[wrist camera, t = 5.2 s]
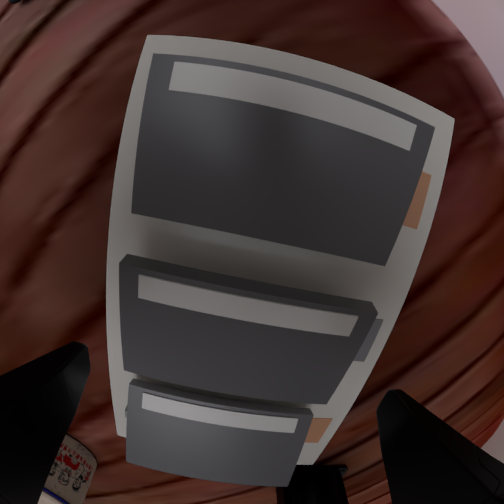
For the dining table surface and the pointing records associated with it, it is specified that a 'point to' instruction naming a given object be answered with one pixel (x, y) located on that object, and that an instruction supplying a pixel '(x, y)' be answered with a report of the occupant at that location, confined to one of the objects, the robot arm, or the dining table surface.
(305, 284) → the switch panel
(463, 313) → the dining table surface
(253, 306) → the panel
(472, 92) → the dining table surface
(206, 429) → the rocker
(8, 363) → the dining table surface
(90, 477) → the teacup with lid
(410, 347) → the dining table surface
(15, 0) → the can opener
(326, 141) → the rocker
